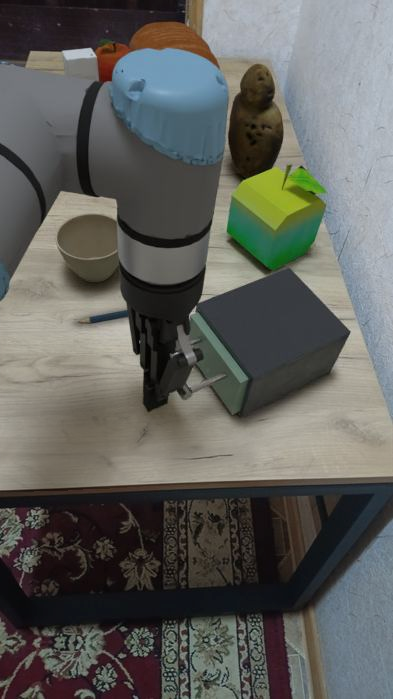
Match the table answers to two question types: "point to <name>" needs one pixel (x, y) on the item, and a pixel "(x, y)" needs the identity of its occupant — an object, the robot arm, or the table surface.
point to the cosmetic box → (81, 64)
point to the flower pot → (89, 245)
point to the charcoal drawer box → (276, 335)
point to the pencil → (105, 317)
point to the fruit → (109, 58)
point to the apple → (276, 215)
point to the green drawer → (216, 367)
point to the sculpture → (255, 124)
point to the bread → (171, 39)
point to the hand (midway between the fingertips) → (155, 403)
